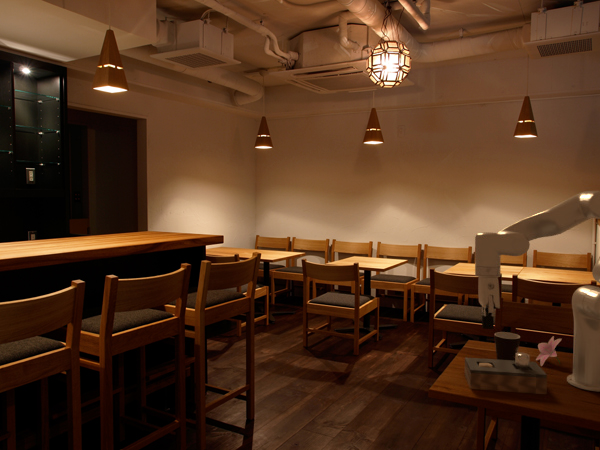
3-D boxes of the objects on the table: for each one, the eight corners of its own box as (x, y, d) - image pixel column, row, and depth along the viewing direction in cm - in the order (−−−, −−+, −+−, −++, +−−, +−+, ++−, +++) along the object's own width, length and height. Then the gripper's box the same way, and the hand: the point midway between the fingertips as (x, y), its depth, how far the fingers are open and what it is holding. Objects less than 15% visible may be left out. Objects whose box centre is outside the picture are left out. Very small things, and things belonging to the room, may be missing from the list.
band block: (534, 379, 156) (535, 361, 156) (546, 394, 145) (546, 374, 144) (464, 375, 160) (464, 357, 160) (470, 388, 149) (470, 369, 148)
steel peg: (527, 369, 153) (527, 352, 153) (530, 374, 149) (531, 356, 149) (513, 368, 154) (514, 352, 153) (516, 373, 150) (517, 356, 149)
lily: (539, 358, 181) (528, 337, 180) (572, 351, 175) (561, 329, 174) (539, 377, 171) (527, 355, 170) (574, 371, 165) (561, 348, 164)
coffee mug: (509, 368, 167) (510, 340, 167) (488, 361, 175) (489, 334, 174) (530, 362, 173) (530, 335, 172) (509, 356, 180) (509, 330, 180)
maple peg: (490, 379, 155) (490, 363, 155) (493, 384, 151) (493, 367, 151) (477, 378, 156) (477, 362, 156) (479, 383, 152) (480, 366, 152)
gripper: (505, 275, 144) (505, 335, 145) (495, 268, 158) (495, 322, 159) (479, 274, 145) (479, 334, 146) (471, 268, 160) (471, 322, 161)
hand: (487, 328), depth 153 cm, fingers closed
